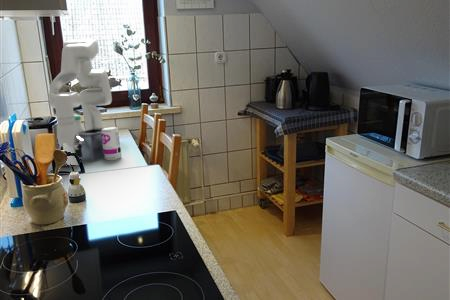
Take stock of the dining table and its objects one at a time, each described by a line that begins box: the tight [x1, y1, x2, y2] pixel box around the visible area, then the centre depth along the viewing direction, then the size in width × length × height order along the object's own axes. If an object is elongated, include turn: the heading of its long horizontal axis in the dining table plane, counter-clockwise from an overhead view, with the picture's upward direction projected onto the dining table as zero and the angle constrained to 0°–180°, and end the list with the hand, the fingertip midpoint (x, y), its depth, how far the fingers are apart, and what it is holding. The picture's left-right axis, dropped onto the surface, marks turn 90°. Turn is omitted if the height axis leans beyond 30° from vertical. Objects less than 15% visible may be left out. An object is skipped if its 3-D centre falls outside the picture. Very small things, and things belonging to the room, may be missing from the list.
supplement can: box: [101, 126, 123, 161], centre depth 195 cm, size 8×8×15 cm
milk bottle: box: [74, 115, 86, 132], centre depth 206 cm, size 8×8×20 cm
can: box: [63, 141, 79, 166], centre depth 188 cm, size 6×6×12 cm
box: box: [79, 127, 105, 162], centre depth 201 cm, size 12×16×13 cm
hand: (71, 156), depth 188 cm, fingers open, 9 cm apart
